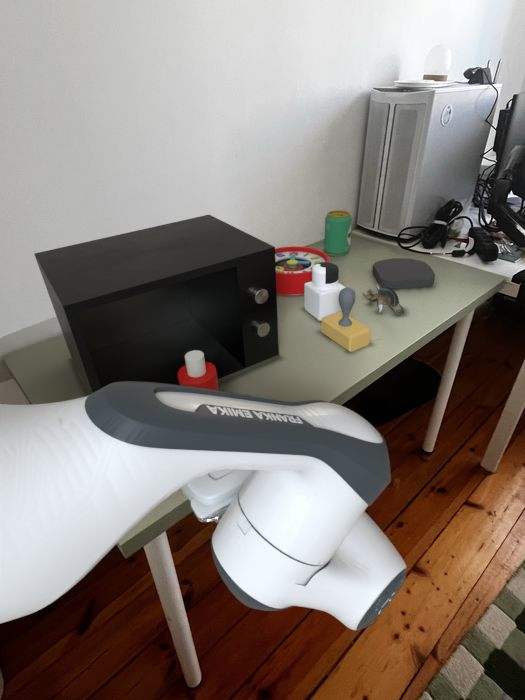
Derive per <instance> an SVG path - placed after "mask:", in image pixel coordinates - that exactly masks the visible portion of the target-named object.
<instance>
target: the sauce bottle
mask: <svg viewBox="0 0 525 700" xmlns="http://www.w3.org/2000/svg"><path fill="white" fill-rule="evenodd" d="M185 362H186V365H184V366H183V367H182V368H181V369H180V370H179V371H178V380H179V385H182V386H190V387H197V388H204V389H211V390H218V391H220V388H219V384H218V379H217V371H216V368H215V366H214V365H213V364H211V363H209V362H206V361H205V359H204V353H203V352H202V351H199V350H193V351H190V352H188V353H186V355H185Z"/></svg>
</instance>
